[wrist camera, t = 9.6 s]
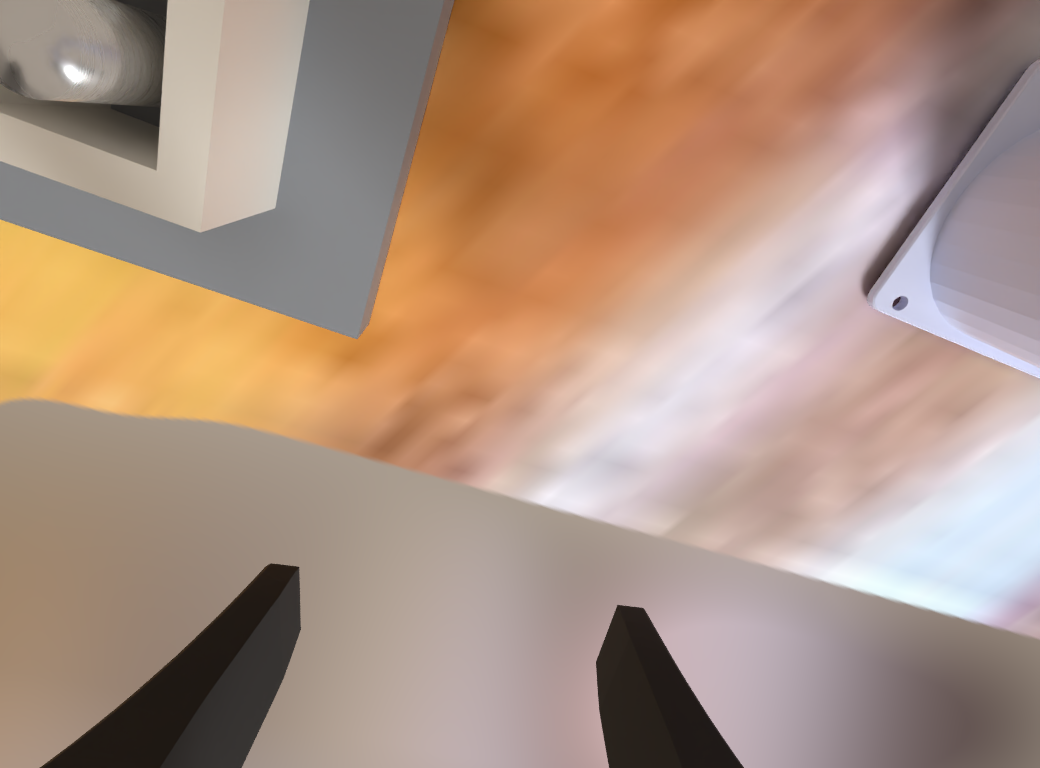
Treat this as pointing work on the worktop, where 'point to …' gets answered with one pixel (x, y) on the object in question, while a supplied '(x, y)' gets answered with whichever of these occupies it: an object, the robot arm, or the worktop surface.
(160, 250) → the shaft board
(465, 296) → the worktop surface
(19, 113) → the collar
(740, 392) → the worktop surface
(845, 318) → the worktop surface
